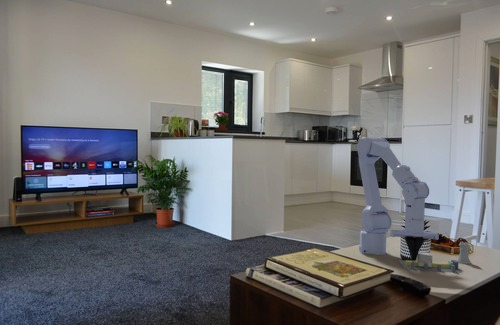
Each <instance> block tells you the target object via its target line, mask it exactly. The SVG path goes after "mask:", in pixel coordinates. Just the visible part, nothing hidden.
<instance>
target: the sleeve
mask: <svg viewBox="0 0 500 325" xmlns="http://www.w3.org/2000/svg"><path fill="white" fill-rule="evenodd" d="M415 261H418V266H423V267H424V263H427V264H428V267H432V262H433V255H432V253H430V252H427V251H426V252H425V251H424V252H423V251H419V252H418V255H417V258H416V260H415Z"/></svg>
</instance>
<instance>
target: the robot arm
mask: <svg viewBox="0 0 500 325" xmlns="http://www.w3.org/2000/svg"><path fill="white" fill-rule="evenodd" d="M390 147H391V145H390V142H389V141H388V140H387V139H386V138H385V137H369V136H362V137H361V138H360V139H359V140H358V143H357V144H356V149H357V156H358V166H359V170H360V176H361V182H362V188H363V193H364V199H365V203H366V204H365V205H366V206H365V207H364V209H363V210H362V211H361V216H362V218H361V226H362V228H363V230H360V232H359V246H358V249H359V251H360V254H364V255H365V254H367V255H368V254H369V255H378V256H382V255H383V256H384V255H386V254H387V233H388V232H389V229H390V228H391V227H392V226H393V225H392V224H393V222H392V221H393V220H392V217H391V215H390V213H389V209H388V208H387V207H386V206H385V205H383V204H382V199H381V193H380V189H379V183H378V177H377V172H376V166H375V163H376V162H377V161H378V160H379V159H382V160H383V161H384V162H385V164H386V165H387V166H388V167H389V168H390V169H391V170H392V173H391V175H392V177H393V178H394V180H395V181H396V182H397V184H398V185H399V186H400V188H401V194H402V197H403V199H404V202H403V203H404V204H405V219H404V220H405V222H404V229H390V232H389V233H390V234H389V236H390V237H391V238H395V237H396V238H404V241H405V243H406V245H407V248H408V252H409V258H410V261H416V258H417V255H418V252H420V250H421V248H422V247H423V245H424V243H425V240H427V239H428V240H429V239H431V240H436V241H437V240H439V236H440V234H439V233H438V232H433V231H425V211H426V210H425V208H426V207H425V205H426V204H425V203H426V199H427V198H428V196H429V195H430V188H429V186H428V184H427V183H426V182H424V181H421V180H420V179H419V178H418V177H416V175H415V174H414V173H413V172H412V171H411V167H410V166H408V165H406V164H402V163H401V162H400V161H399V159H398V158H397V156H396V155H395V153H394V152H393V150H392V149H391V148H390ZM424 239H425V240H424Z"/></svg>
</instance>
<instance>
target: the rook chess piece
mask: <svg viewBox="0 0 500 325" xmlns="http://www.w3.org/2000/svg"><path fill="white" fill-rule="evenodd" d="M458 246H459V255H458V257H457V258H456V261H457V262H458V264H464V265H470V264H471V263H472V262H471V260H470V258H469V248H470V244H469V242H467V241H465V242H464V241H460V242H459V244H458Z"/></svg>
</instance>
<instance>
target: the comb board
mask: <svg viewBox="0 0 500 325" xmlns="http://www.w3.org/2000/svg"><path fill="white" fill-rule="evenodd" d="M397 261H398V262H399V264H400V265H401V266H402V267H403V269H404V270H415V271H428V272H429V271H430V272H440V273H441V272H443V273H445V272H446V273H457V274H463V272H462V271H461V270H460V269H459V263H458V262H457V259H456V260H455V259H451V260H448V261H447V263H446V262H434V261H432V267H428V264H427V263H424V267H423V266H418V261H416V260H407V259H404V260H402V259H398V260H397Z"/></svg>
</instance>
